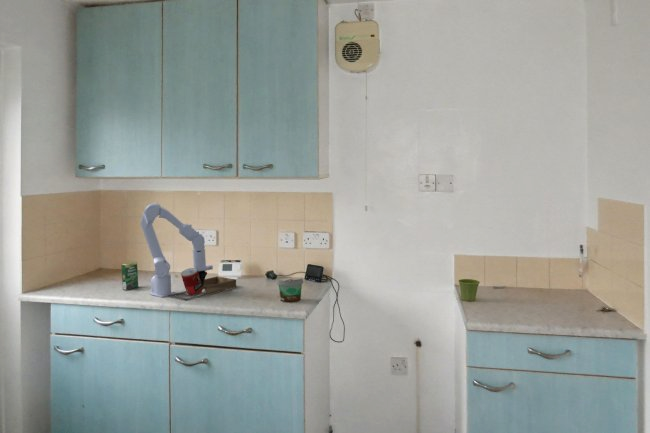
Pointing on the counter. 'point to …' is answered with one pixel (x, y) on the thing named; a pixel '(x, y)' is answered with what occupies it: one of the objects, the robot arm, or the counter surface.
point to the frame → (184, 298)
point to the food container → (290, 290)
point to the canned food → (192, 281)
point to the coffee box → (129, 276)
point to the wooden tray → (218, 284)
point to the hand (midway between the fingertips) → (200, 286)
